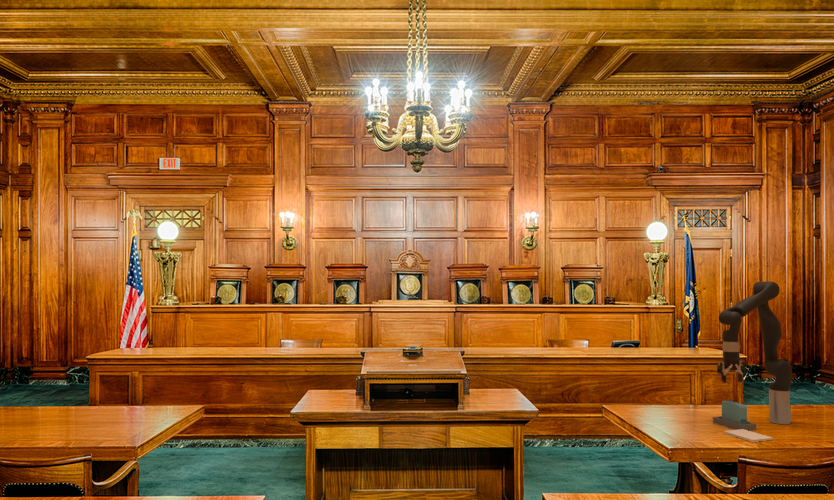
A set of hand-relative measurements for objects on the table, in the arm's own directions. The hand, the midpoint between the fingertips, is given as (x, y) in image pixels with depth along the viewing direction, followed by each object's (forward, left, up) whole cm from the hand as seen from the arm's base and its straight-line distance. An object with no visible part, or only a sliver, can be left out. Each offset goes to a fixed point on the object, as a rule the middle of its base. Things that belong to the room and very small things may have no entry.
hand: (731, 382), depth 291 cm
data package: (-3, -1, -23) cm, 23 cm away
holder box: (-3, -1, -23) cm, 23 cm away
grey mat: (+8, +16, -23) cm, 29 cm away
